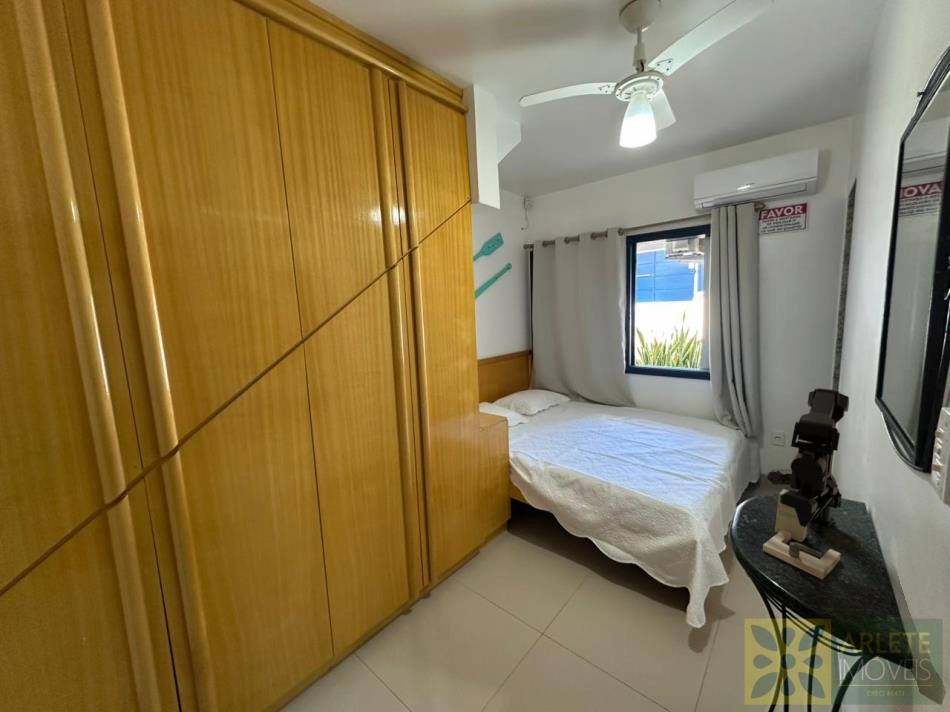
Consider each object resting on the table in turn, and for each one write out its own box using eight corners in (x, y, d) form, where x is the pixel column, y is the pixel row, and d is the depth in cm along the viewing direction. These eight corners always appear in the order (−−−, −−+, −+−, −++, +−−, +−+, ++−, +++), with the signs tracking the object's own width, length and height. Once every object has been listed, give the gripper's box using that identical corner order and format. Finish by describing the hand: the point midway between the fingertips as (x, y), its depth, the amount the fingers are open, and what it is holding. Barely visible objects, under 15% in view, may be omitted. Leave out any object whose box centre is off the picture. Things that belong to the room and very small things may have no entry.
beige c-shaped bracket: (781, 535, 102) (783, 517, 101) (839, 560, 91) (842, 540, 90) (762, 551, 96) (764, 532, 95) (822, 579, 85) (824, 558, 85)
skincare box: (774, 531, 103) (777, 493, 102) (779, 526, 106) (782, 488, 104) (802, 543, 98) (806, 502, 97) (807, 536, 101) (811, 497, 99)
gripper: (787, 448, 103) (783, 498, 105) (758, 465, 94) (754, 519, 96) (841, 462, 93) (835, 517, 95) (813, 482, 84) (808, 542, 86)
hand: (806, 522), depth 94 cm, fingers open, 5 cm apart
